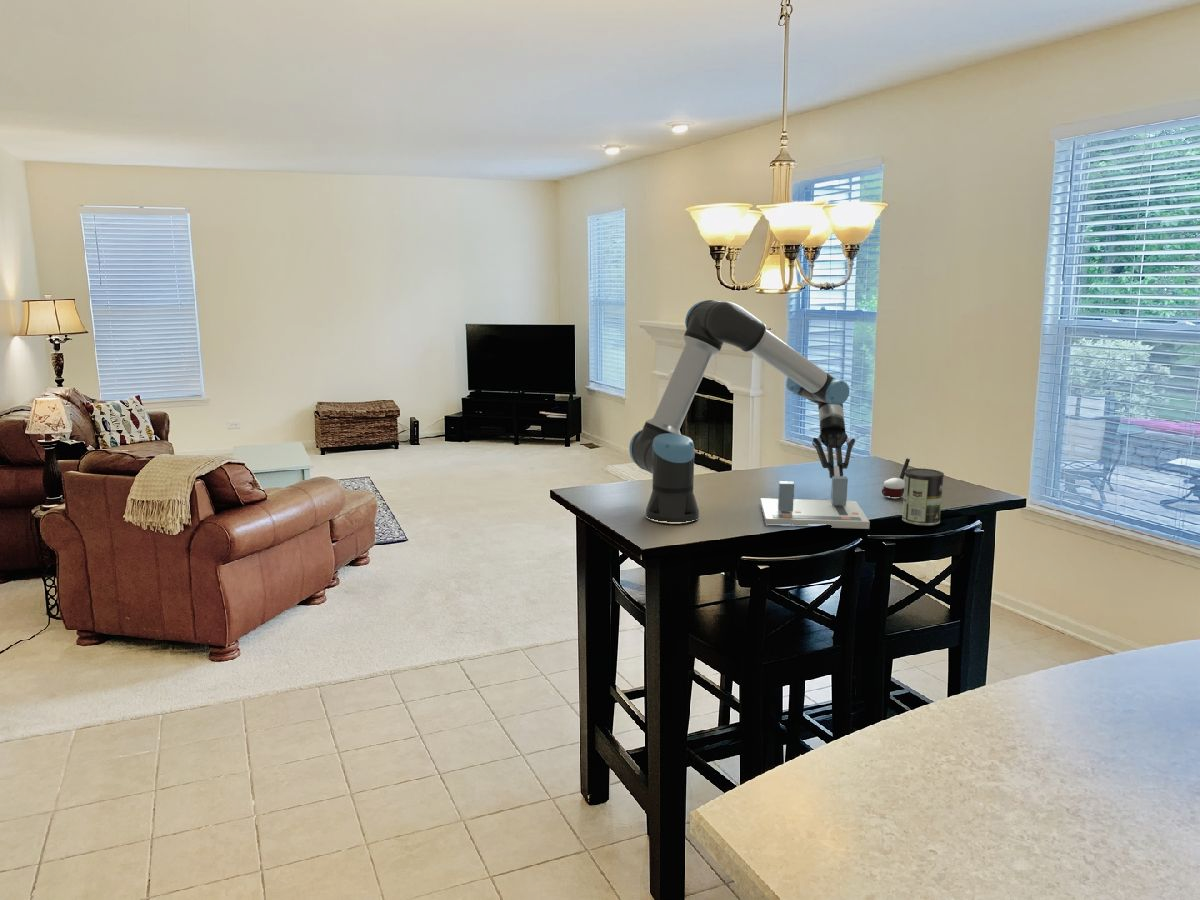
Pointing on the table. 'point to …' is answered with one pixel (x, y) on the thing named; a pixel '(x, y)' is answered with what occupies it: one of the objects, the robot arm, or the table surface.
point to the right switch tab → (839, 490)
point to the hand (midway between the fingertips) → (837, 486)
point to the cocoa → (895, 484)
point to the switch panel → (815, 513)
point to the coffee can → (922, 496)
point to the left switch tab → (785, 496)
